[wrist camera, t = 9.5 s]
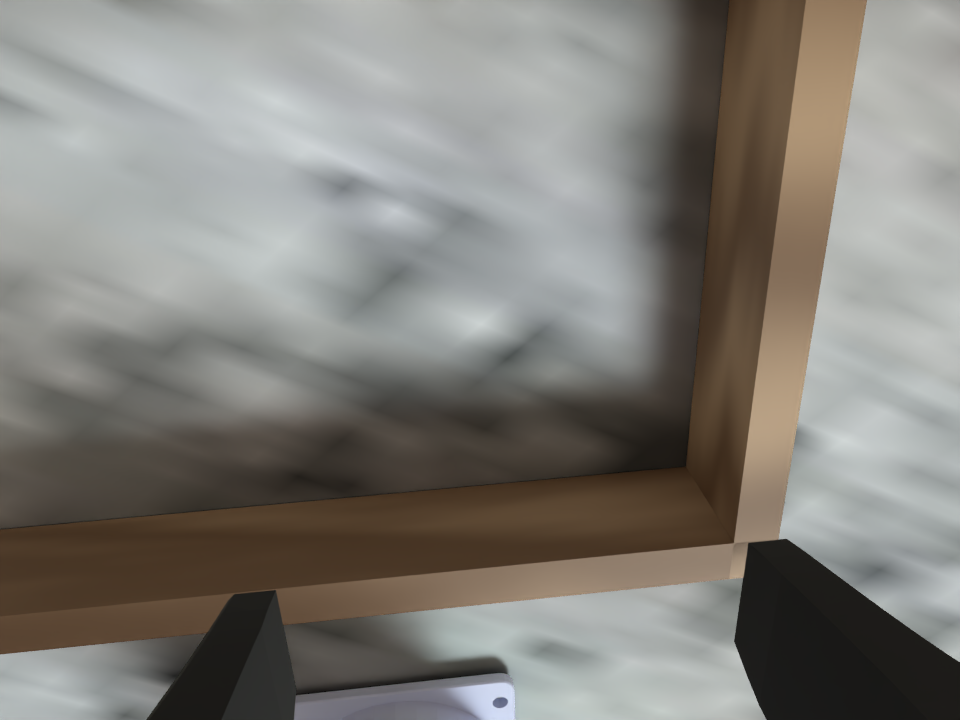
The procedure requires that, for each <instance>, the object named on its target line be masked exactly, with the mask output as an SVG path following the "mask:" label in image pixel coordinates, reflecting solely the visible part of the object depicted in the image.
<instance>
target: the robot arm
mask: <svg viewBox="0 0 960 720" xmlns="http://www.w3.org/2000/svg"><path fill="white" fill-rule="evenodd" d="M734 642H735V644H736V647H737V650H738V652H739V655H740V658H741V660H742V663H743V666H744V668H745V671H746V674H747V676H748V679H749V681H750V684H751V686H752V689H753V691H754V694H755V696H756V698H757V701H758V703H759V706H760V708H761V710H762V711H763V713H764V715H765V717H766V719H767V720H960V662H958V661H957V660H955V659H954V658H952V657H951V656H949V655H947V654H946V653H945V652H943V651H942V650H940V649H939V648H937V647H936V646H934V645H933V644H931V643H930V642H928V641H927V640H925V639H924V638H922V637H921V636H920V635H918V634H917V633H915V632H914V631H912V630H911V629H910V628H908V627H907V626H905V625H904V624H903V623H901V622H900V621H898V620H897V619H896V618H894V617H893V616H891V615H890V614H889V613H887V612H886V611H884V610H883V609H882V608H880V607H879V606H878V605H876V604H875V603H873V602H872V601H871V600H869V599H868V598H867V597H865V596H864V595H862V594H861V593H860V592H858V591H857V590H856V589H854V588H853V587H852V586H850V585H849V584H848V583H846V582H845V581H844V580H842V579H841V578H840V577H838V576H837V575H836V574H834V573H833V572H832V571H830V570H829V569H827V568H826V567H825V566H823V565H822V564H821V563H819V562H818V561H817V560H815V559H814V558H813V557H811V556H810V555H809V554H807V553H806V552H804V551H803V550H802V549H800V548H799V547H797V546H796V545H795V544H793V543H792V542H790V541H789V540H787V539H781V540H771V541H761V542H751V543H748V549H747V556H746V563H745V570H744V577H743V584H742V591H741V598H740V605H739V612H738V619H737V626H736V633H735V640H734ZM499 697H502V698H499ZM147 720H515V693H514V684H513V680H512V678H511V677H510V676H509V675H507V674H504V673H494V674H485V675H476V676H467V677H458V678H448V679H439V680H430V681H421V682H412V683H403V684H394V685H385V686H376V687H367V688H358V689H349V690H340V691H330V692H321V693H312V694H303V695H296V686H295V681H294V676H293V671H292V666H291V661H290V656H289V652H288V647H287V642H286V637H285V632H284V627H283V622H282V617H281V612H280V608H279V603H278V598H277V593H276V590H270V591H260V592H250V593H240V594H234V595H233V596H232V597H231V598H230V599H229V600H228V601H227V603H226V604H225V606H224V607H223V609H222V611H221V612H220V614H219V615H218V617H217V618H216V620H215V621H214V623H213V624H212V626H211V628H210V629H209V631H208V632H207V634H206V635H205V637H204V638H203V640H202V641H201V643H200V644H199V646H198V647H197V649H196V650H195V652H194V653H193V655H192V656H191V658H190V659H189V661H188V662H187V664H186V665H185V666H184V668H183V669H182V671H181V672H180V674H179V675H178V677H177V678H176V679H175V681H174V682H173V684H172V685H171V686H170V688H169V689H168V691H167V692H166V693H165V695H164V696H163V697H162V699H161V700H160V702H159V703H158V704H157V706H156V707H155V709H154V710H153V711H152V713H151V714H150V716H149V717H148V718H147Z"/></svg>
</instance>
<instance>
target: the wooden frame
mask: <svg viewBox="0 0 960 720" xmlns="http://www.w3.org/2000/svg"><path fill="white" fill-rule="evenodd" d="M866 3H867V0H729V10H728V21H727V32H726V42H725V53H724V64H723V75H722V85H721V96H720V107H719V118H718V128H717V139H716V150H715V161H714V171H713V182H712V193H711V204H710V214H709V225H708V236H707V247H706V257H705V268H704V279H703V289H702V300H701V311H700V322H699V332H698V343H697V354H696V365H695V375H694V386H693V397H692V408H691V418H690V429H689V440H688V451H687V461H686V467H678V468H667V469H656V470H645V471H634V472H623V473H612V474H601V475H590V476H579V477H569V478H558V479H547V480H536V481H525V482H514V483H503V484H492V485H481V486H470V487H460V488H449V489H438V490H427V491H416V492H405V493H394V494H383V495H372V496H361V497H351V498H340V499H329V500H318V501H307V502H296V503H285V504H274V505H263V506H252V507H241V508H231V509H220V510H209V511H198V512H187V513H176V514H165V515H154V516H143V517H132V518H122V519H111V520H100V521H89V522H78V523H67V524H56V525H45V526H34V527H23V528H13V529H2V530H0V654H8V653H18V652H27V651H37V650H47V649H57V648H66V647H76V646H86V645H95V644H105V643H115V642H124V641H134V640H144V639H153V638H163V637H173V636H182V635H192V634H202V633H207V632H208V631H209V629H210V628H211V626H212V624H213V623H214V621H215V620H216V618H217V617H218V615H219V614H220V612H221V611H222V609H223V607H224V606H225V604H226V603H227V601H228V600H229V599H230V598H231V597H232V596H233V595H234V594H240V593H250V592H260V591H270V590H276V593H277V598H278V603H279V608H280V612H281V617H282V622H283V625H289V624H298V623H308V622H318V621H328V620H337V619H347V618H357V617H366V616H376V615H386V614H395V613H405V612H415V611H424V610H434V609H444V608H453V607H463V606H473V605H482V604H492V603H502V602H511V601H521V600H531V599H540V598H550V597H560V596H569V595H579V594H589V593H599V592H608V591H618V590H628V589H637V588H647V587H657V586H666V585H676V584H686V583H695V582H705V581H715V580H724V579H734V578H743V577H744V570H745V563H746V556H747V549H748V543H751V542H761V541H771V540H778V538H779V532H780V526H781V520H782V514H783V507H784V501H785V495H786V489H787V483H788V477H789V471H790V465H791V459H792V453H793V447H794V441H795V434H796V428H797V422H798V416H799V410H800V404H801V398H802V392H803V386H804V380H805V374H806V368H807V362H808V355H809V349H810V343H811V337H812V331H813V325H814V319H815V313H816V307H817V301H818V295H819V289H820V282H821V276H822V270H823V264H824V258H825V252H826V246H827V240H828V234H829V228H830V222H831V216H832V209H833V203H834V197H835V191H836V185H837V179H838V173H839V167H840V161H841V155H842V149H843V143H844V136H845V130H846V124H847V118H848V112H849V106H850V100H851V94H852V88H853V82H854V76H855V70H856V63H857V57H858V51H859V45H860V39H861V33H862V27H863V21H864V15H865V9H866Z"/></svg>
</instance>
